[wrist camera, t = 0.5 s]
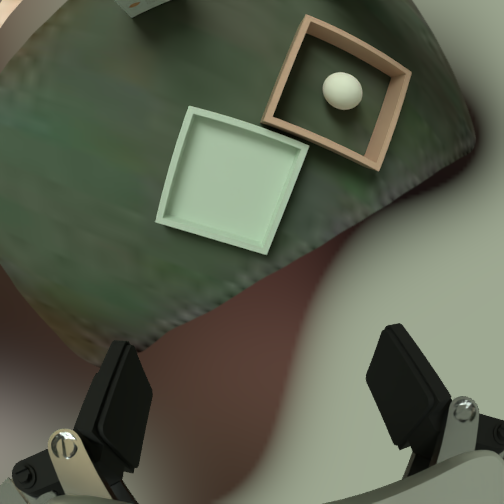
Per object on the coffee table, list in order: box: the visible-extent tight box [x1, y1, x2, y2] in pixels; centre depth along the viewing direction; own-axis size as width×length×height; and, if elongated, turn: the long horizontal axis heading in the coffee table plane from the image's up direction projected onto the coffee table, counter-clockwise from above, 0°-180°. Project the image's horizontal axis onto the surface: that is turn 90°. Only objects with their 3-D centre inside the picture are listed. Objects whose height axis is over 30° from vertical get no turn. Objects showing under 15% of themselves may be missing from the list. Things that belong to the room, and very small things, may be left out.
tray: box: [156, 106, 309, 255], centre depth 33 cm, size 15×15×2 cm
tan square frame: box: [260, 14, 412, 171], centre depth 28 cm, size 16×16×4 cm
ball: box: [323, 72, 362, 110], centre depth 28 cm, size 5×5×5 cm
